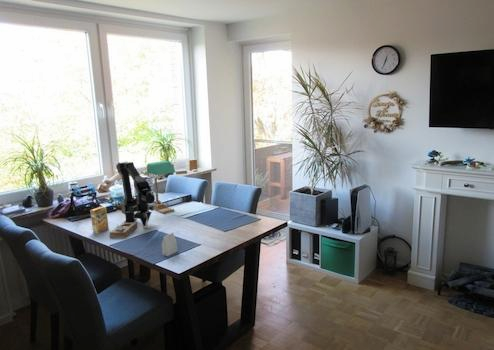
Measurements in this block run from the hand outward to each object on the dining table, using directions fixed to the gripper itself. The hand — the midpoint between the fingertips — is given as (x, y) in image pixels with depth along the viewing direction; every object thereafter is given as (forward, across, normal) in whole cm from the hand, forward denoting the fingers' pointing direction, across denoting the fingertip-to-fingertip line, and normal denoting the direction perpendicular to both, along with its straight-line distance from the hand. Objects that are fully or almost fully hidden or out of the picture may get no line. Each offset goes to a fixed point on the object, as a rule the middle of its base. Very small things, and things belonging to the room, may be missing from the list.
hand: (145, 225), depth 240 cm
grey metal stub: (+1, +14, -10) cm, 17 cm away
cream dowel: (+2, 0, 0) cm, 2 cm away
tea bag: (+2, +38, +27) cm, 47 cm away
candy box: (+2, +6, -26) cm, 27 cm away
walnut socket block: (+2, +9, -10) cm, 14 cm away
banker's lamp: (+2, -40, -2) cm, 40 cm away
